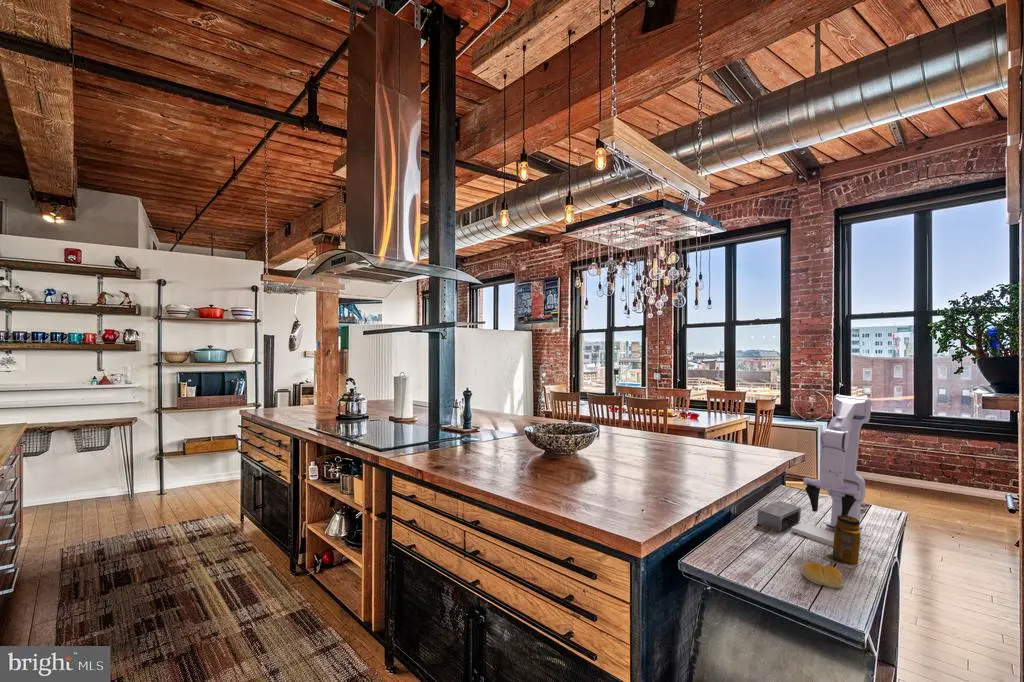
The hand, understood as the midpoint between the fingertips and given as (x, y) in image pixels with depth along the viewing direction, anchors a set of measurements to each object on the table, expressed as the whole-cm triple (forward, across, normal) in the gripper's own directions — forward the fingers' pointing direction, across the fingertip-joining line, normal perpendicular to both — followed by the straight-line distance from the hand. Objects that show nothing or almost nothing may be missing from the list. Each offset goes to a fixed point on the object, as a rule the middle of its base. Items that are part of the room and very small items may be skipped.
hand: (829, 515), depth 143 cm
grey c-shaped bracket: (+10, -17, +7) cm, 21 cm away
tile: (+10, -5, +7) cm, 14 cm away
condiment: (+10, +6, -5) cm, 13 cm away
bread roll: (+10, +7, -23) cm, 26 cm away
